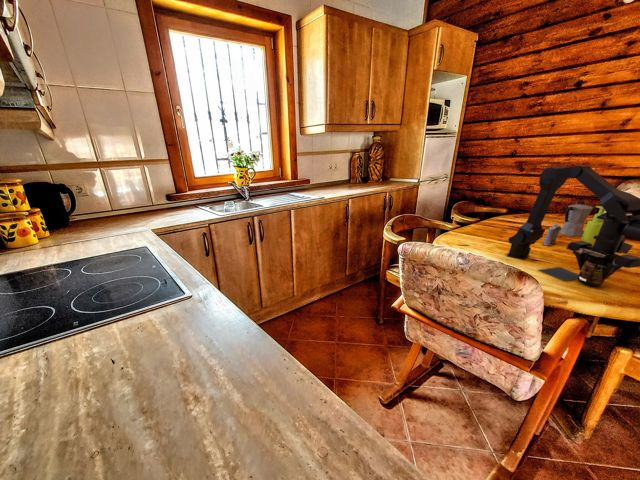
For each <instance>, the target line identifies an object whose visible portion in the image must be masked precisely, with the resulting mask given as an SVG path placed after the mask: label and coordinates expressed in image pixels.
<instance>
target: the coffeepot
mask: <svg viewBox="0 0 640 480" xmlns="http://www.w3.org/2000/svg"><path fill="white" fill-rule="evenodd" d="M579 202H580V203H579V204H570V205H568V207H567V208H566V210H565V211H564V223H563V226H561V228H560V230H559V233H558V234H560V235H563V236H567V237H573V238H574V237H575V238H576V237H577V238H579V237H582V235H583V233H584V226H585V221H586V220H587V219H588V217H589V215H590V214H591V212H592V211H593V208H594V207H592V206H591V205H586V204H585V202H586V201H585V200H580V201H579Z"/></svg>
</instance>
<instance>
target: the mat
mask: <svg viewBox="0 0 640 480" xmlns="http://www.w3.org/2000/svg"><path fill="white" fill-rule="evenodd" d="M538 271H540V272H542V273H544V274H547V275H549V276H551V277H554V278H556V279H559V280H561V281H563V282H569V281H574V280H575V281H576V280H577V278H578V276H579V274H578V273H576V272H573V271H571V270H568V269H566V268H563V267H552V268H545V269H539V270H538Z"/></svg>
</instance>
